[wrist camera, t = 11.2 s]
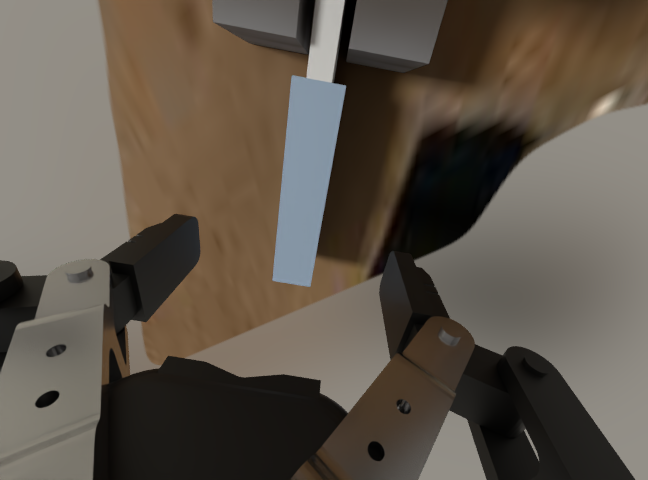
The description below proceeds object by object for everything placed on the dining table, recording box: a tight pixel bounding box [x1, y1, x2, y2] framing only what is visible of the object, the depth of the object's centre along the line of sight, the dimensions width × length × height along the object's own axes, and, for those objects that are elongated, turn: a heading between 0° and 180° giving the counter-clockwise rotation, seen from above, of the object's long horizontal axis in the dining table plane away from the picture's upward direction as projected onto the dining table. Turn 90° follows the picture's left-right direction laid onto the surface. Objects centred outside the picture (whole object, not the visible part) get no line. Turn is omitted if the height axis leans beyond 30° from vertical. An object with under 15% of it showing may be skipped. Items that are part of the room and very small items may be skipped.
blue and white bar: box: [273, 0, 347, 287], centre depth 19 cm, size 19×3×5 cm, turn 170°
